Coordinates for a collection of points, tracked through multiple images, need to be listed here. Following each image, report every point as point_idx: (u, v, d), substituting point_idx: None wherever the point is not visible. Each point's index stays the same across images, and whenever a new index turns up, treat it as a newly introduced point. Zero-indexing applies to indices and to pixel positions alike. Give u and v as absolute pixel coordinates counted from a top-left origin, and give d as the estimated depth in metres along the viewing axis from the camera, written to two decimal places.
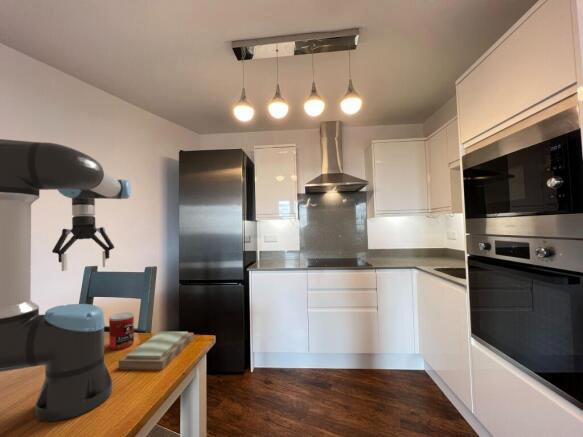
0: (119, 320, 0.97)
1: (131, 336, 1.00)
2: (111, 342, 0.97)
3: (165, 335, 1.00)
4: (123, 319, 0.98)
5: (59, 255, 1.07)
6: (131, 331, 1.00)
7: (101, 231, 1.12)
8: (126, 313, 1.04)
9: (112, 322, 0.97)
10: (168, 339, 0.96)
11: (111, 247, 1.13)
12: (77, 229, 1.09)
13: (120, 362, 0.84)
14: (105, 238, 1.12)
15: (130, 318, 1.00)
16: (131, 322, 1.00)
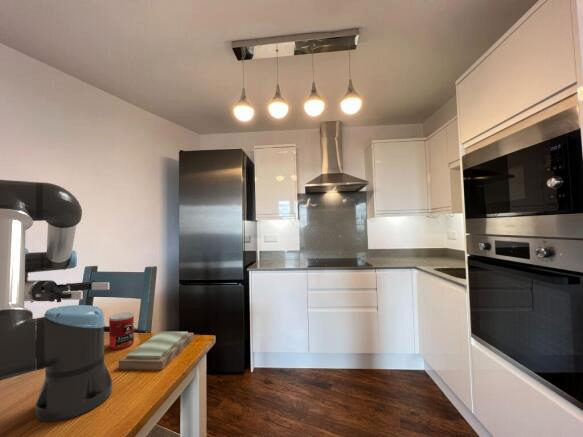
0: (119, 320, 0.97)
1: (131, 336, 1.00)
2: (111, 342, 0.97)
3: (165, 335, 1.00)
4: (123, 319, 0.98)
5: (61, 294, 0.93)
6: (131, 331, 1.00)
7: (70, 283, 1.08)
8: (126, 313, 1.04)
9: (112, 322, 0.97)
10: (168, 339, 0.96)
11: (94, 281, 1.11)
12: (49, 288, 0.99)
13: (120, 362, 0.84)
14: None
15: (130, 318, 1.00)
16: (131, 322, 1.00)
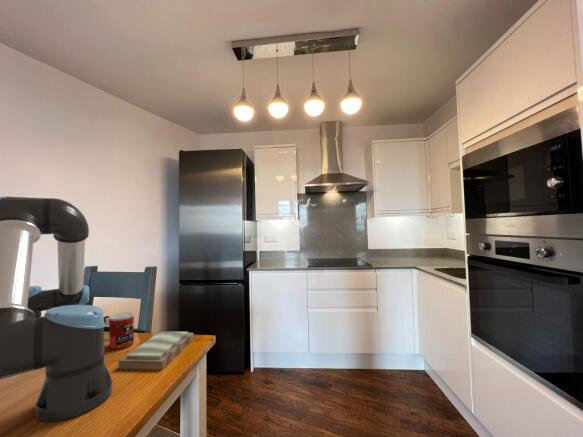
0: (119, 320, 0.97)
1: (131, 336, 1.00)
2: (111, 342, 0.97)
3: (165, 335, 1.00)
4: (123, 319, 0.98)
5: None
6: (131, 331, 1.00)
7: None
8: (126, 313, 1.04)
9: (112, 322, 0.97)
10: (168, 339, 0.96)
11: None
12: None
13: (120, 362, 0.84)
14: None
15: (130, 318, 1.00)
16: (131, 322, 1.00)
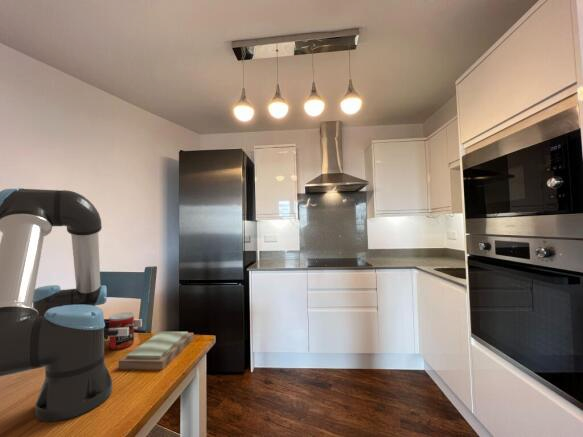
0: (119, 320, 0.97)
1: (131, 336, 1.00)
2: (111, 342, 0.97)
3: (165, 335, 1.00)
4: (123, 319, 0.98)
5: (108, 331, 0.95)
6: (131, 331, 1.00)
7: (104, 319, 1.07)
8: (126, 313, 1.04)
9: (112, 322, 0.97)
10: (168, 339, 0.96)
11: None
12: None
13: (120, 362, 0.84)
14: None
15: (130, 318, 1.00)
16: (131, 322, 1.00)
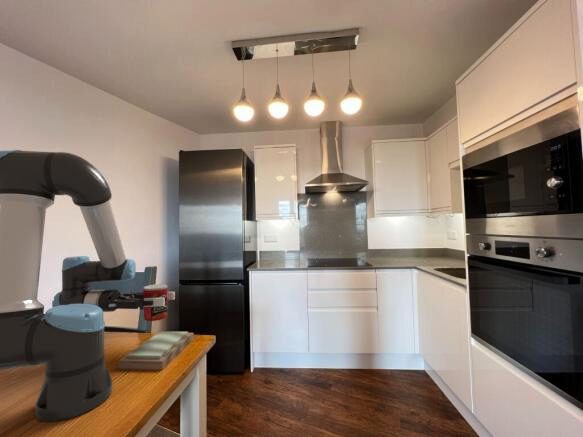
0: (154, 290, 0.93)
1: (166, 307, 0.96)
2: (146, 313, 0.93)
3: (165, 335, 1.00)
4: (158, 289, 0.94)
5: (144, 301, 0.91)
6: (165, 302, 0.96)
7: (134, 292, 1.02)
8: (159, 285, 1.00)
9: (147, 292, 0.93)
10: (168, 339, 0.96)
11: None
12: (114, 298, 0.94)
13: (120, 362, 0.84)
14: None
15: (165, 288, 0.96)
16: (166, 293, 0.96)
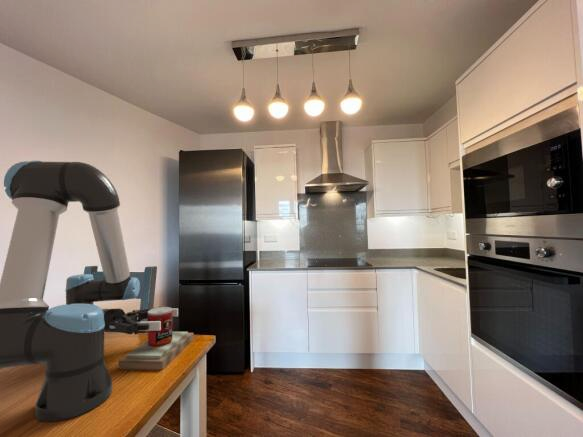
0: (159, 315, 0.91)
1: (170, 332, 0.94)
2: (150, 338, 0.91)
3: None
4: (163, 314, 0.92)
5: (139, 325, 0.87)
6: (170, 327, 0.94)
7: (137, 310, 1.01)
8: (163, 308, 0.98)
9: (151, 317, 0.91)
10: None
11: None
12: (119, 318, 0.93)
13: (120, 362, 0.84)
14: (147, 309, 1.02)
15: (169, 313, 0.94)
16: (170, 317, 0.94)
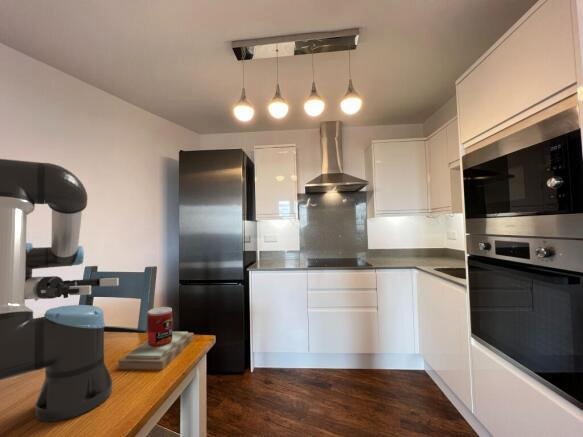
0: (159, 315, 0.91)
1: (170, 332, 0.94)
2: (150, 338, 0.91)
3: None
4: (163, 314, 0.92)
5: (68, 289, 0.87)
6: (170, 327, 0.94)
7: None
8: (163, 308, 0.98)
9: (151, 317, 0.91)
10: None
11: None
12: (54, 285, 0.93)
13: (120, 362, 0.84)
14: (88, 279, 1.02)
15: (169, 313, 0.94)
16: (170, 317, 0.94)
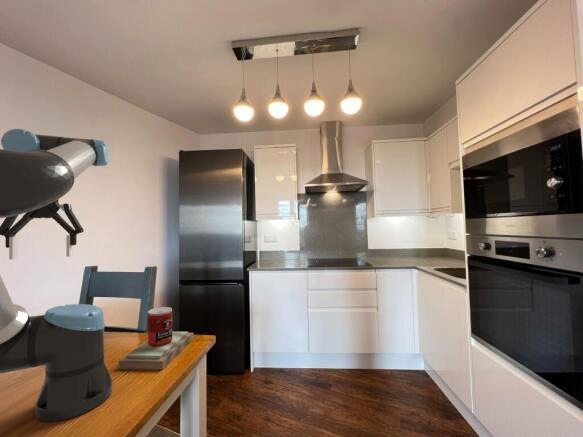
0: (159, 315, 0.91)
1: (170, 332, 0.94)
2: (150, 338, 0.91)
3: None
4: (163, 314, 0.92)
5: (6, 238, 0.80)
6: (170, 327, 0.94)
7: (65, 209, 0.85)
8: (163, 308, 0.98)
9: (151, 317, 0.91)
10: None
11: (78, 230, 0.85)
12: None
13: (120, 362, 0.84)
14: (71, 218, 0.85)
15: (169, 313, 0.94)
16: (170, 317, 0.94)
